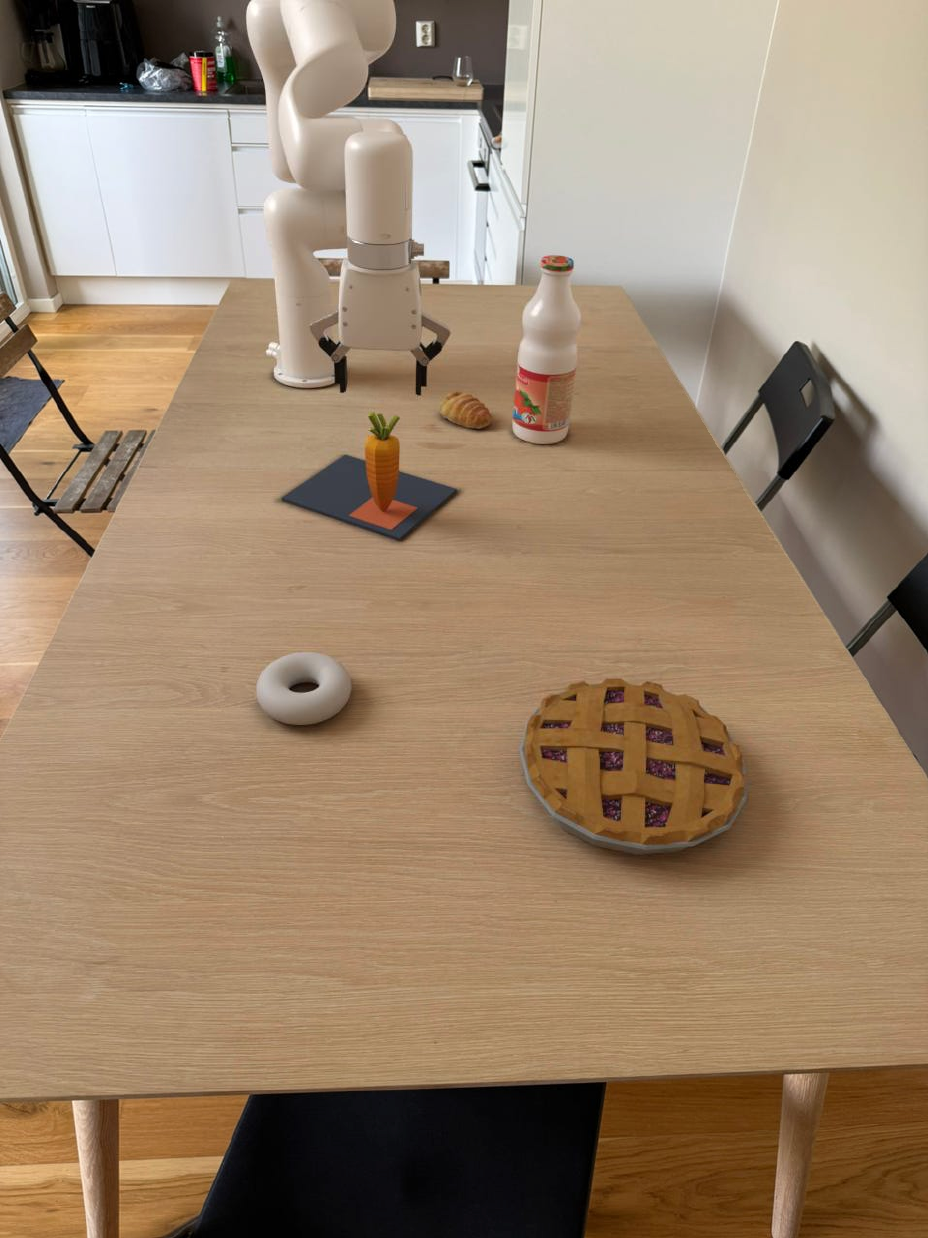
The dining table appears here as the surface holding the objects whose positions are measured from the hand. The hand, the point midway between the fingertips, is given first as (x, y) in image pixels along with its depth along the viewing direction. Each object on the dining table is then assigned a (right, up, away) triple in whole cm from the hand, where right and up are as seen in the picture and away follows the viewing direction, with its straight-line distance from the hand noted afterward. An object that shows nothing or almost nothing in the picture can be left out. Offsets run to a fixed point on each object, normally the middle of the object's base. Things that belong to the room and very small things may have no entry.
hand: (381, 389), depth 115 cm
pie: (+27, -46, -27) cm, 59 cm away
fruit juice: (+23, +1, +34) cm, 42 cm away
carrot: (-1, -14, +11) cm, 18 cm away
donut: (-6, -38, -20) cm, 44 cm away
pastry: (+11, +5, +38) cm, 39 cm away
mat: (-3, -12, +15) cm, 19 cm away
